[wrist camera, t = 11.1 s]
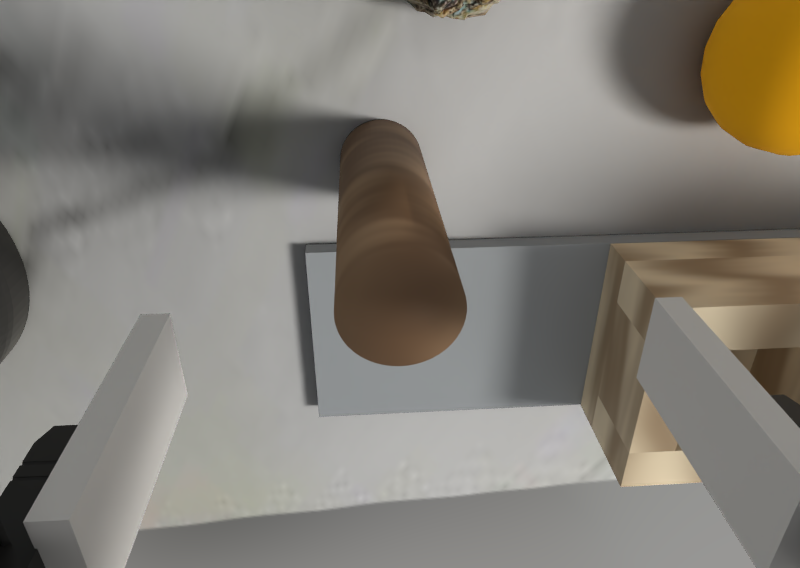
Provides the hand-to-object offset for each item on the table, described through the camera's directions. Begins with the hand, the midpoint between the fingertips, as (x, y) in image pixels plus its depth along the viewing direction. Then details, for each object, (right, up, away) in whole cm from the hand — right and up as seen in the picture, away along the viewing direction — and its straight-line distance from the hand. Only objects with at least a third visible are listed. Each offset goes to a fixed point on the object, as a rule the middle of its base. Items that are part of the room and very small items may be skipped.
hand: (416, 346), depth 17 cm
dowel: (-1, +8, +14) cm, 16 cm away
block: (+16, -1, +19) cm, 25 cm away
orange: (+17, +13, +12) cm, 24 cm away
